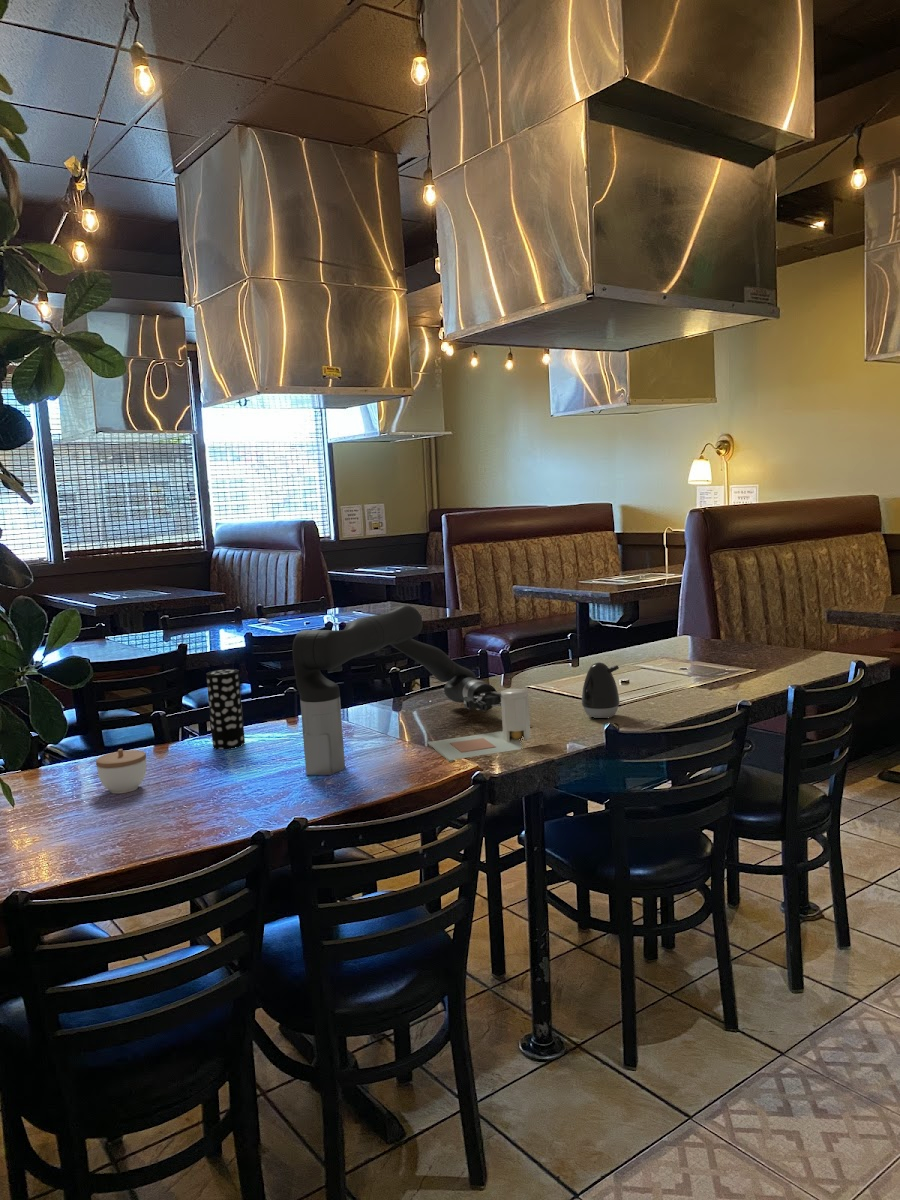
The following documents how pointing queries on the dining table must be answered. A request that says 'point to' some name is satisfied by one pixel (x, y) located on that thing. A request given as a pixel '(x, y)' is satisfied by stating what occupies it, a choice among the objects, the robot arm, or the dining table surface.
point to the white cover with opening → (515, 713)
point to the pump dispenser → (600, 692)
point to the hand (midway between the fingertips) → (500, 705)
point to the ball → (516, 734)
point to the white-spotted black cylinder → (225, 708)
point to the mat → (475, 745)
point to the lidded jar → (122, 770)
